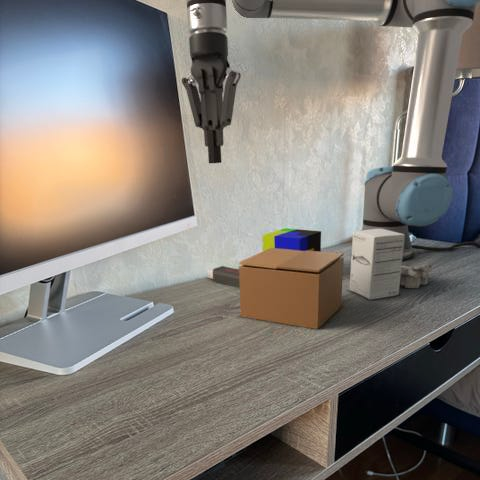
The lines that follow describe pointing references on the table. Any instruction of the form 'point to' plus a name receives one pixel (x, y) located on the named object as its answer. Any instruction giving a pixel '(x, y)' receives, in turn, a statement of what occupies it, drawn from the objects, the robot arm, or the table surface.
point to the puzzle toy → (293, 240)
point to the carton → (294, 289)
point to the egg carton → (414, 276)
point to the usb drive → (225, 275)
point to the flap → (271, 258)
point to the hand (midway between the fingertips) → (215, 162)
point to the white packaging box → (376, 263)
